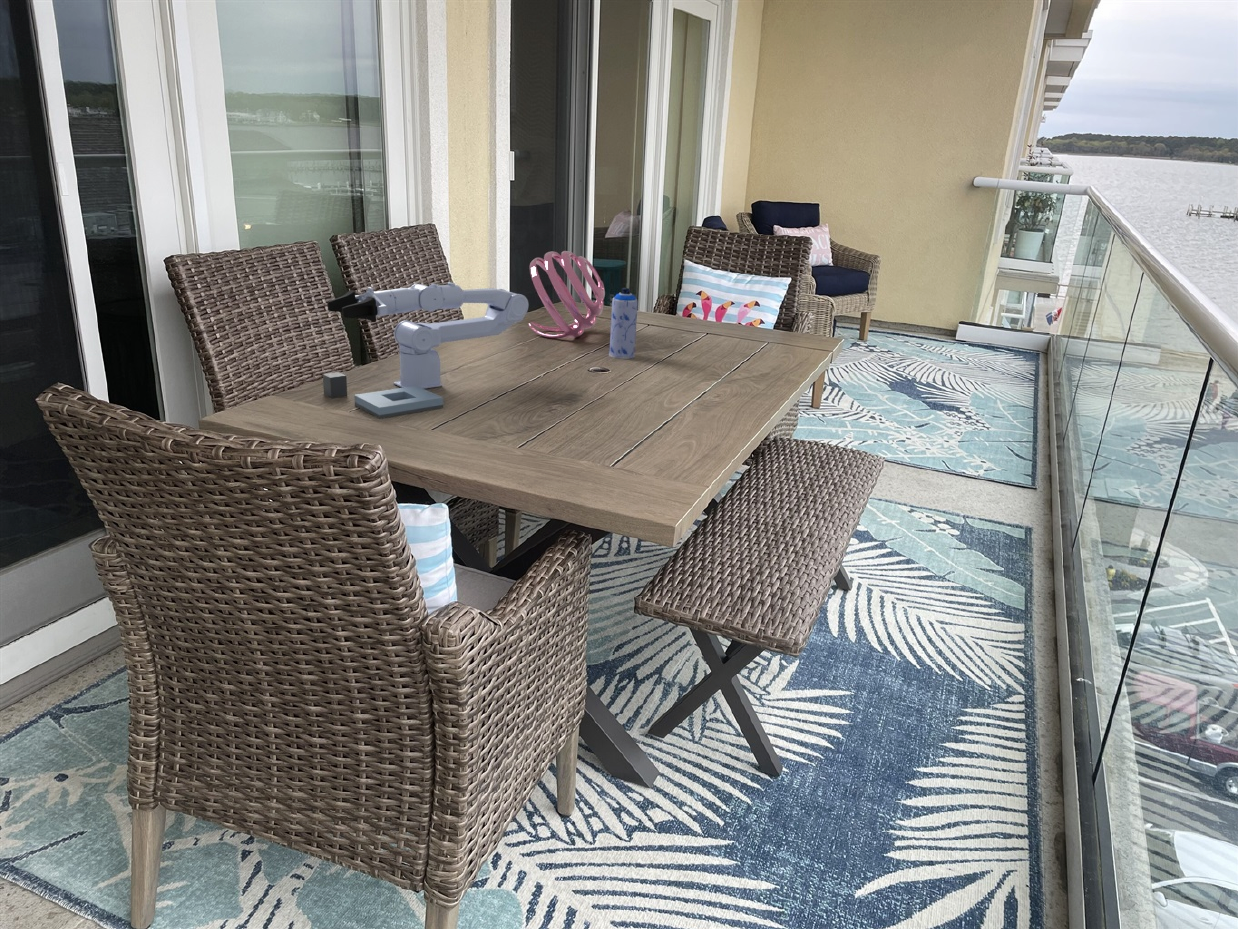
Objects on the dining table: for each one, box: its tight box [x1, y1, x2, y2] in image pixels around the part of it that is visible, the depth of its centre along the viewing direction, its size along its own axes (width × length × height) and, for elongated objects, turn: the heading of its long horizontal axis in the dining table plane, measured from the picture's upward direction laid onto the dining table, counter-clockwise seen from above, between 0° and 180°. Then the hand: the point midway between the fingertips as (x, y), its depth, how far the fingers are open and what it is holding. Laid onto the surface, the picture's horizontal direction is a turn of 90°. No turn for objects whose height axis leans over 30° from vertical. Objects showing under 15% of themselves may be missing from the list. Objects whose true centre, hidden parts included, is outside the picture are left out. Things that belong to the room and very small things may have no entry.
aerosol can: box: [608, 287, 639, 360], centre depth 264 cm, size 8×8×20 cm
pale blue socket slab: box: [354, 386, 444, 419], centre depth 206 cm, size 16×12×2 cm
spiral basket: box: [528, 250, 606, 340], centre depth 286 cm, size 28×28×27 cm
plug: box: [322, 371, 348, 399], centre depth 212 cm, size 4×4×5 cm
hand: (335, 309), depth 204 cm, fingers open, 7 cm apart
